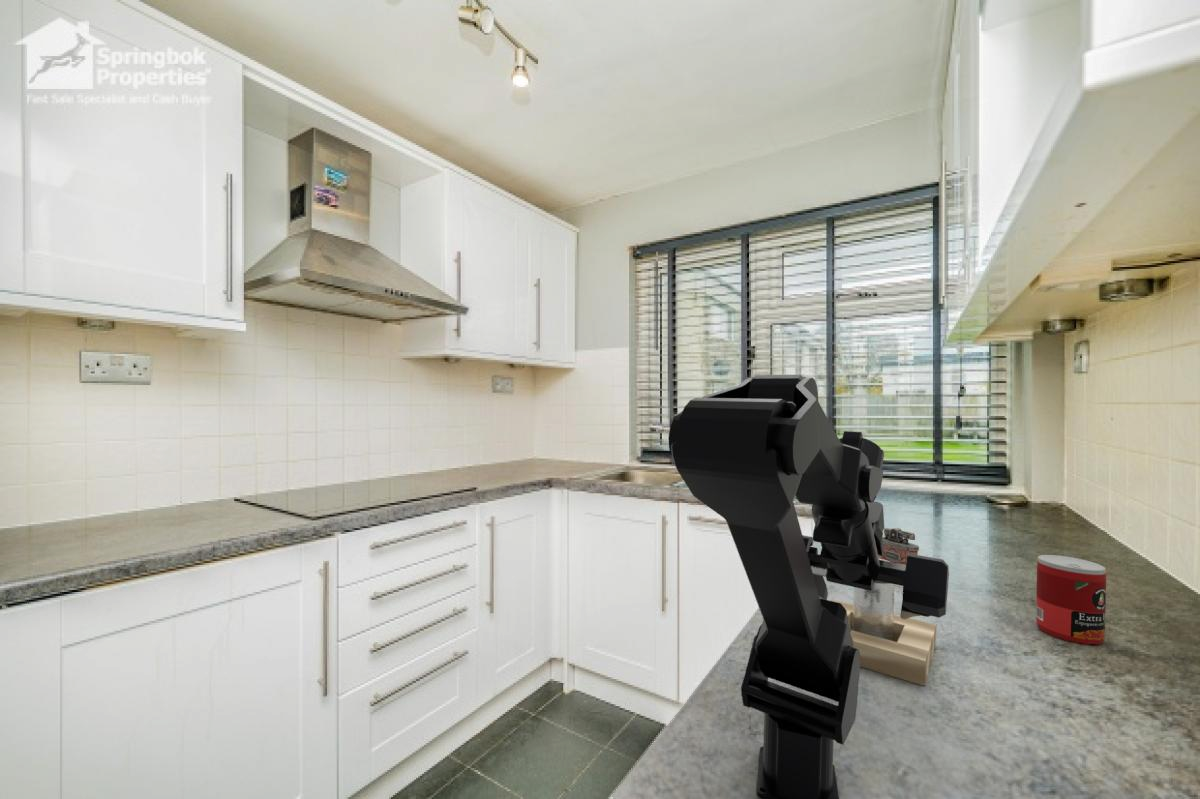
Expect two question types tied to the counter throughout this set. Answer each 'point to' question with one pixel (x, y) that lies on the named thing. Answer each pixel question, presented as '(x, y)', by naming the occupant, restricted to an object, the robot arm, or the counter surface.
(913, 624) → the tan square ring
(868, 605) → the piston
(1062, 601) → the canned food
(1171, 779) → the counter surface
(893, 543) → the lighter
